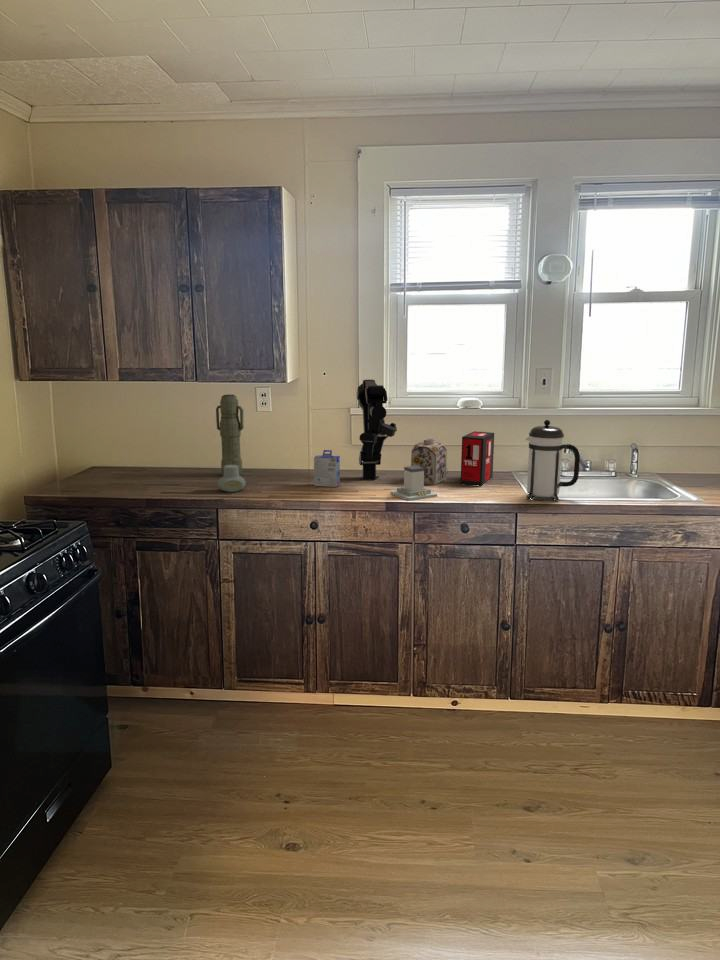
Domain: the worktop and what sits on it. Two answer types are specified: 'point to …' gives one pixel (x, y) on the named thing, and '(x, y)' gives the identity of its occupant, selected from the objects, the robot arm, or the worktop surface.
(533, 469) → the coffee press
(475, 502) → the worktop surface
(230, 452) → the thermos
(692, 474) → the worktop surface
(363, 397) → the robot arm
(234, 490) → the air freshener
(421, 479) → the block
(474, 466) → the cleaning product box
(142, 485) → the worktop surface
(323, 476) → the ink cartridge box
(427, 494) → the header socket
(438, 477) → the decorative jar
